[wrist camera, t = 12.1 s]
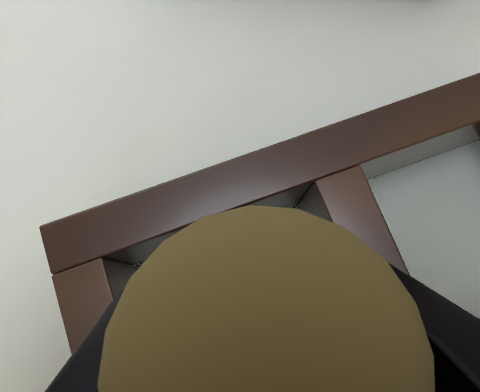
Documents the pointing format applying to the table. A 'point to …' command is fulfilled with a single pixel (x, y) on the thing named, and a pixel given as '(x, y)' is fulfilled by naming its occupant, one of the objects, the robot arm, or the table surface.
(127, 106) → the table surface
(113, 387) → the olive game pawn
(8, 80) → the table surface
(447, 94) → the hole block
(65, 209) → the table surface
